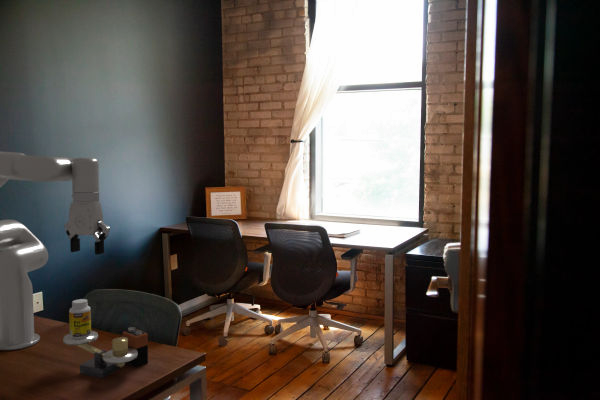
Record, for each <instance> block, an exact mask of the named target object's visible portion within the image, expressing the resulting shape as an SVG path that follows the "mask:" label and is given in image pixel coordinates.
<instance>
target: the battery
mask: <svg viewBox="0 0 600 400" xmlns="http://www.w3.org/2000/svg"><path fill="white" fill-rule="evenodd" d="M127 329H128V330H125V331H123V332H122V337H126V338H128V348H133V349H136V350H137V351H138V356H137V357H136V358H135V359H134V360H131V361H129V362H125V364H127V365H129V366H131V367H134V368H138V367H141V366H144V365H147V364H148V362H149V345H148V343H149V342H148V341H149V339H148V338H149V337H148V334H149V333H147V332H145V331H142V330H140V329H137V328H136V327H135V326H134V327H133V326H130V327H128V328H127Z"/></svg>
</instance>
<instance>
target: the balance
mask: <svg viewBox="0 0 600 400" xmlns="http://www.w3.org/2000/svg"><path fill="white" fill-rule="evenodd" d="M98 339H99V334H98V332H96V331H94V330H91V334H90V336H88V337H86V338H82V339H73V338H71V337H70V333H68V334H65V335H64V337H63V338H62V340H63V344H65V345H68V346H69V345H70V346H78V347H79V348H81V349H83V350H84V351H87V352H89V353H91V354H93V355H94V357H93V358H91V359H89V360H87V361H85V362H83V363H81V364H79V374H80V375H84V376H89V377H93V378H99V379H105V378H106V377H109V376H110V375H112V374H114V373H116V372H118V371H119V370H121V369H122V367H124V366H125V364H126V363H125V362H129V361H131V360H134V359H135V358H136V357H137V356H138V351H137V350H136V349H133V348H128V354H127V355H125V356H122V357H114V356H113V354H112V349H110V350H108V351H107V350H103V349H100V348H97V347H95V346H93V345H91V344H90V343H92V342H95V341H97V340H98Z"/></svg>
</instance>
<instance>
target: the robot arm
mask: <svg viewBox="0 0 600 400" xmlns="http://www.w3.org/2000/svg"><path fill="white" fill-rule="evenodd" d="M99 169H100V167H99V161H98V159H97V158H94V157H71V156H70V157H68V156H43V155H42V156H41V155H40V156H39V155H27V154H25V153H23V152H13V151H2V150H1V151H0V188H2V186H4V185H5V184H6V183H7V182H8V181H9V180H15V181H30V182H31V181H32V182H44V183H46V182H47V183H52V182H53V183H54V182H69V181H70V182H71V183H72V184H71V185H72V186H71V187H72V188H71V189H72V190H71V192H72V193H71V198H72V201H71V202H70V205H69V209H68V210H69V211H68V222H66V223H65V224H64V225H63V226H64V230H65V233H66V235H67V236H68V240H69V241H70V246H69V247H70V253H76V252H80V251H81V238H80V235H81V236H88V237H89V236H93V238H94V239H95V241H94V255H96V256H98V255H102V254H105V241H106V240H107V237H109V233H110V230H111V227H110V226H109V225H108V224H106V223H104V215H103V209H102V205H101V202H100V175H99V174H100V172H99ZM48 261H49V252H48V250H47V247H46V245H44V243H43V242H41V240H40V239H39V238H37V237H36V236H35V234H33V233H32V232H31V230H29V228H27V226H25V225H24V224H23V223H21V222H19V221H18V220H16V219H2V220H0V350H1V351H11V350H12V351H14V350H21V349H24V348H28V347H30V346H33V345H35V344H37V343H38V342H39V341H40V340H41V336H40V335H39V334H38V333H35V326H34V325H35V323H34V322H35V320H34V319H35V318H34V316H35V315H34V293H33V292H34V290H33V289H34V288H33V283H32V281H31V279H30V277H29V275H28V273H30V272H32V271H36V270H38V269H41V268H42V267H44V266H45V265H46V264H47V263H48Z"/></svg>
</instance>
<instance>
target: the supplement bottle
mask: <svg viewBox="0 0 600 400" xmlns="http://www.w3.org/2000/svg"><path fill="white" fill-rule="evenodd" d="M88 304H89V303H88V299H85V298H80V299H75V300H72V302H71V305H72V306H71V307H70V308H69V311H68V314H69V315H68V319H69V322H68V323H69V334H70V337H71V338H73V339H82V338H86V337H88V336H90V334H91V331H92V317H91V316H92V314H91V313H92V312H91V310H92V309H91V306H89V305H88Z"/></svg>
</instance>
